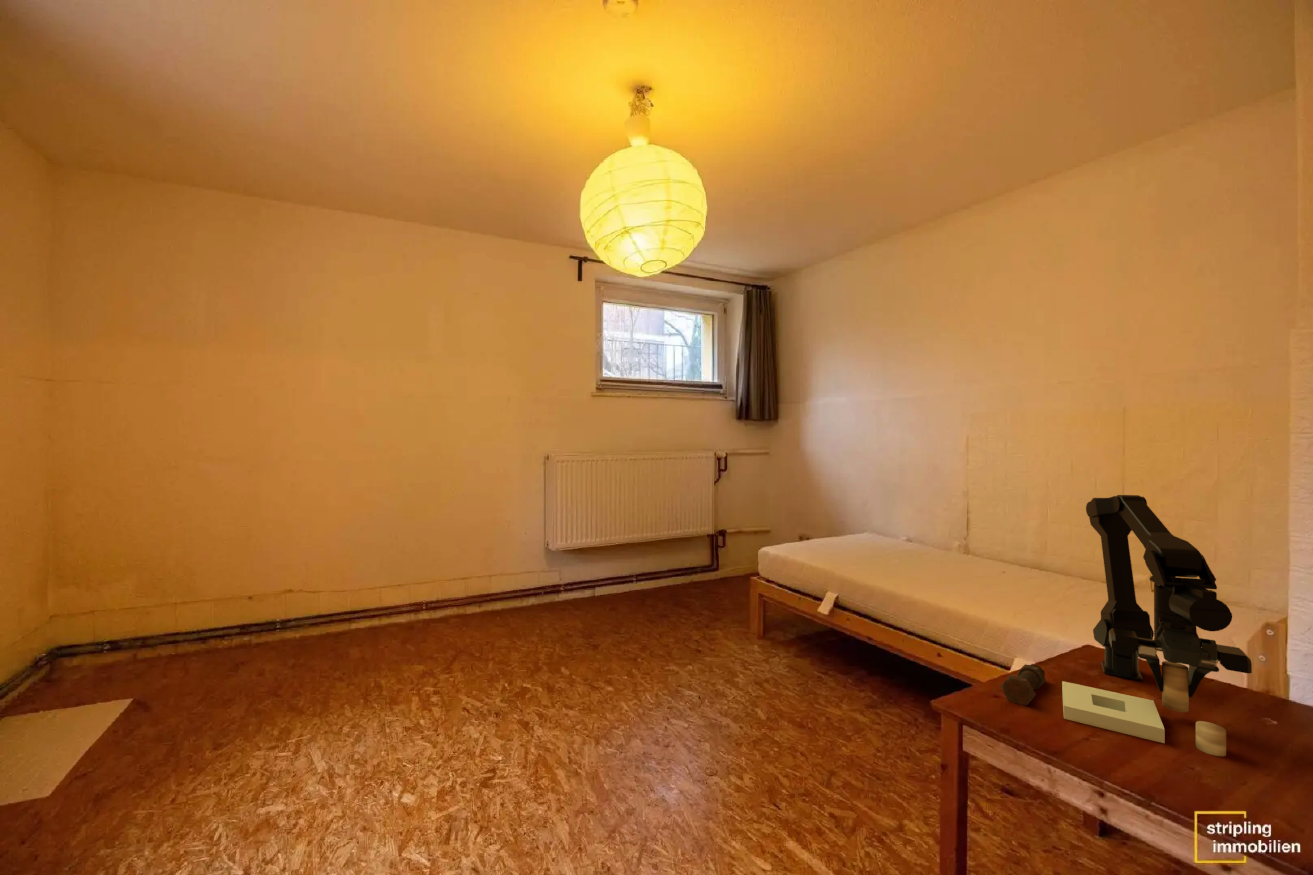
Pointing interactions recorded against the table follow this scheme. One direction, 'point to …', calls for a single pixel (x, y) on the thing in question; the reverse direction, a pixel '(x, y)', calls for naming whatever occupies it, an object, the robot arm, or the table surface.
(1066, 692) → the board
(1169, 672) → the long pin
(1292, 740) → the table surface
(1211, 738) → the short pin
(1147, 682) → the table surface
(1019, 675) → the bolt
